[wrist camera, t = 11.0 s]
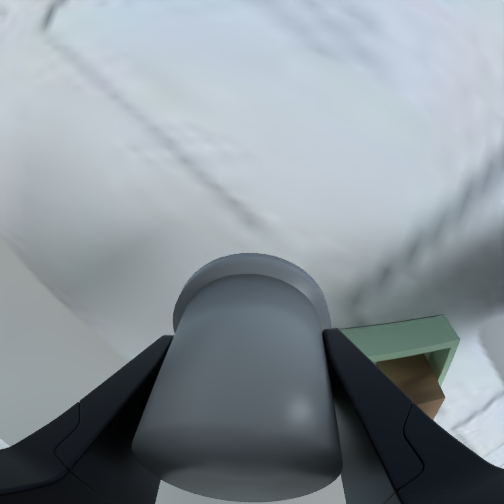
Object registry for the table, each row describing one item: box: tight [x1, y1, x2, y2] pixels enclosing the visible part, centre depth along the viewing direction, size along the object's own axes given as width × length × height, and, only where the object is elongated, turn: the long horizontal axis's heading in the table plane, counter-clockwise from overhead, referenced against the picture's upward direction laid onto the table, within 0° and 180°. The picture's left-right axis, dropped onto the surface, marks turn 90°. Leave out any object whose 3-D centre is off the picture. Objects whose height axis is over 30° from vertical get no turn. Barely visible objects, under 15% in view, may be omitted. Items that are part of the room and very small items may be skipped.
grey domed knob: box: [132, 253, 343, 502], centre depth 7 cm, size 5×5×5 cm
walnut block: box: [376, 353, 445, 420], centre depth 18 cm, size 4×4×5 cm
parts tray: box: [340, 315, 460, 387], centre depth 20 cm, size 14×10×3 cm
